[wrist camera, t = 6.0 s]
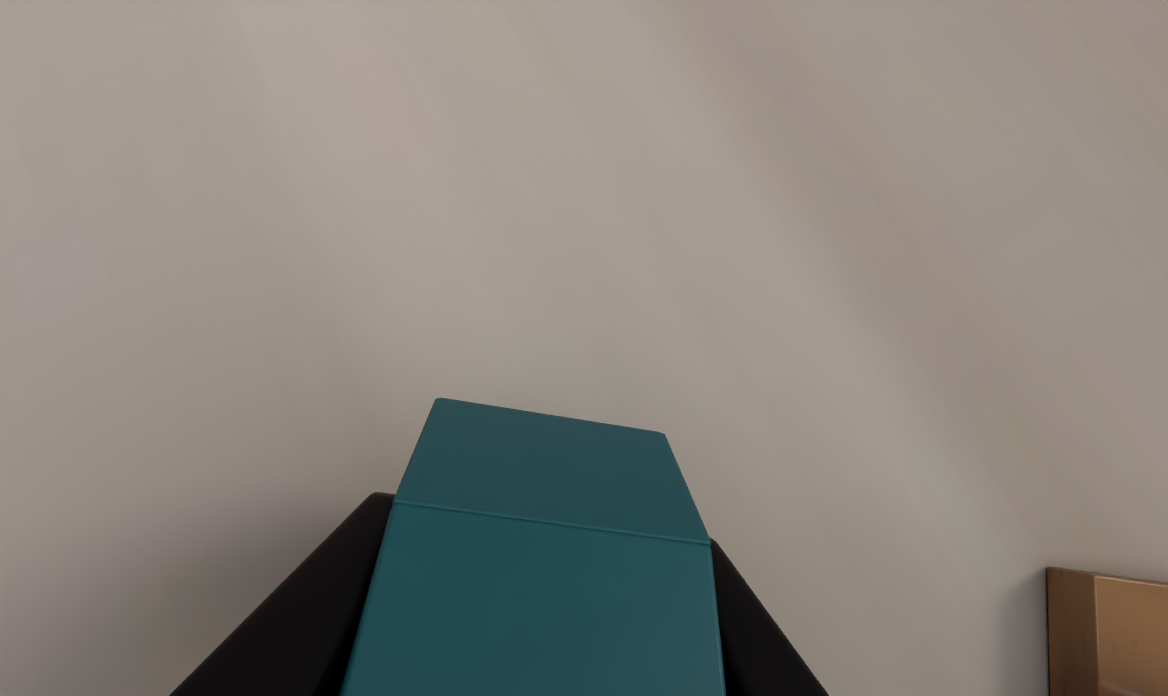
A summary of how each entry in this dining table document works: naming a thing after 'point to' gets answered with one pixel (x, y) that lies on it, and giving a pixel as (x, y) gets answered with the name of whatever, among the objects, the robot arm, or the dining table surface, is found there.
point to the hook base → (1107, 634)
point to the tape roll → (539, 566)
